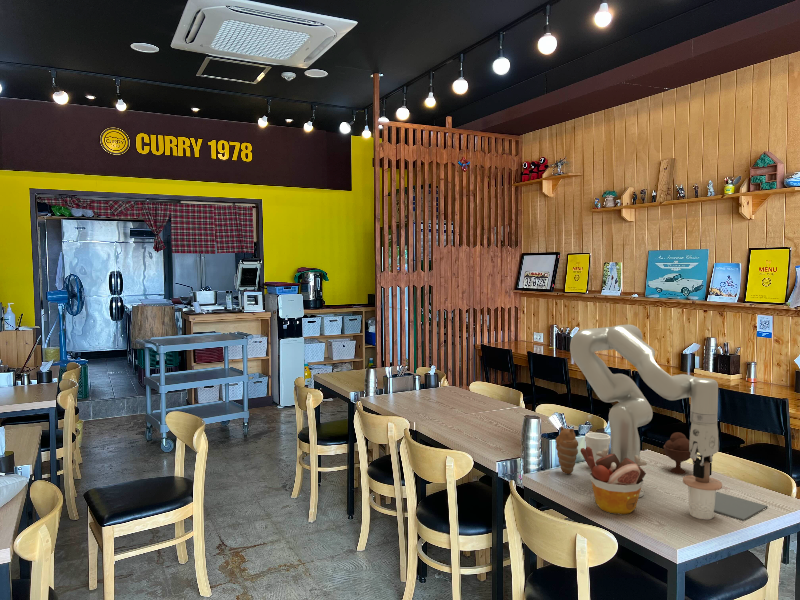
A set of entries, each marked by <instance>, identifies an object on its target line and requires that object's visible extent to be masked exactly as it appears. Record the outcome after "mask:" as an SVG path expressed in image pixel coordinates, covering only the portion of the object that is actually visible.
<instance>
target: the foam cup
mask: <svg viewBox="0 0 800 600" xmlns="http://www.w3.org/2000/svg"><path fill="white" fill-rule="evenodd" d="M584 436H585V438H584V441H585V446H586V447H590V448H591V449H592V453H593V457H594V461H595V462H596V461H597V460H598V459H600V458H601V456H597V455H596V453H597V452H598V451H601V452H602V451H603V449H605V448H607V449H608V453H607V455H608V454H609V451H610V450H609V449H610V445H611V435H609V434H607V433H601V432H587V433H585V435H584ZM602 453H603V452H602ZM595 465H596V463H595ZM596 466H597V465H596Z"/></svg>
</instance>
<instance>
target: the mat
mask: <svg viewBox="0 0 800 600" xmlns="http://www.w3.org/2000/svg"><path fill="white" fill-rule="evenodd" d="M767 507H768V508H769V505H767V504H766V505H765V504H763V503H758V502H755V501H752V500H748V499H745V498H741V497H737V496H733V495H730V494H726V493H723V492H719V491H716V497H715V508H714V513H715V514H719V515H722V516H725V515H726V517H728V516H729V518H733V519H735V518H736V520H738V519H739V520H738V521H741V520H742V522H745V521H747V520H748V519H750V518H752V517H754V516H755V514H756V513H757V514H759V513H761V512H763V511H764V510H763V509H765V508H766V509H768V508H767ZM766 509H765V510H766ZM762 510H763V511H762ZM760 511H761V512H760ZM758 512H759V513H758ZM757 514H756V515H757ZM753 515H754V516H753ZM751 516H752V517H751ZM749 517H750V518H749ZM746 519H747V520H746ZM744 520H745V521H744Z"/></svg>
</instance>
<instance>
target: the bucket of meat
mask: <svg viewBox="0 0 800 600" xmlns="http://www.w3.org/2000/svg"><path fill="white" fill-rule="evenodd" d="M602 452H603V453H602ZM602 452H601V451H598V452H597V453H596V455H597V456H601V458H600V459H598V460H597V461H596V462H595V461H594V457H593V453H592V449H591V448H590V447H586V448H584V447H582V448H580V454H581V455H582V457H583V459H584V461H585V463H586V464H587V465H588V466H587V467H588V469H589V468H590V469H589V470H590V473H589V477H590V481H591V487H592V492H593V496H594V500H595V502H594V503H596V505H597V507H598V508H600V510H601V511H604V512H606V513H608V512H609V513H608V514H611V513H613V514H612V515H620V514H622V515H628V514H630V513H632V512H633V511H634V510H635V509H636V508H637V505H638V500H639V498H640V497H639V494H640V490H641V488H642V486H643V484H644V478H645V476H646V474H647V473H646V471H645V470H643V468H642V467H643V466H644V467H645V466H647V464H648V463H647V461H646V460H644V459H641V456H640V457H639V456H637V455H635V456H634V458H635V462H633V461H632V460H630V459H628V458H625V459H624V460H623V461H622V462H621V463H620V462H619V460H618V458H617V457H616V455H615V454H611V453H609V451H608V449H607V448H605V449H603V451H602ZM607 453H608V455H607ZM595 463H596V465H597V466H596V465H595ZM639 466H640V467H639ZM641 466H642V467H641Z"/></svg>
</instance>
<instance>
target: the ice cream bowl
mask: <svg viewBox="0 0 800 600" xmlns="http://www.w3.org/2000/svg"><path fill="white" fill-rule="evenodd" d="M689 441H690V439H688V438H687V436H686V435H685V434H684V433H682V432H678V431H677V432H673V433H672V434H671V435H670V437H669V439H668V440H666V441H665V444H663V446H662V448H663V451H664V454H665V455H666V456H667V457H668V458H669V459H670V460H673V461H674V462H675V466H674V467H672V468H671V469H670V472H671V473H672V474H676V475H686V470H685V469H683V468H682V465H681V464H682V463H683V462H686V461H688V460H689V459H691V458H690V455H691V453H690V450H689Z"/></svg>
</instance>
